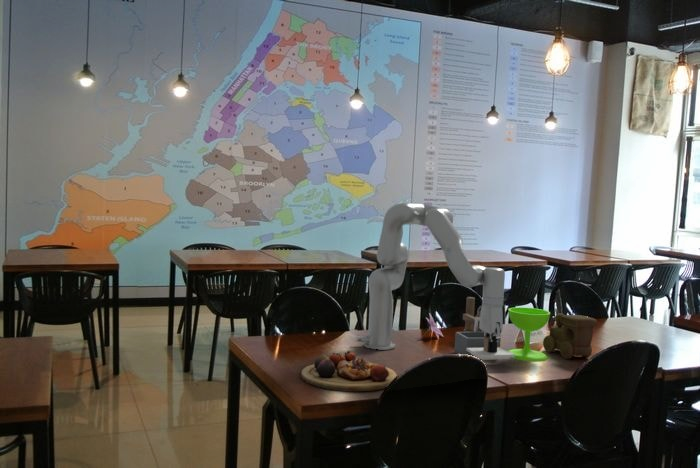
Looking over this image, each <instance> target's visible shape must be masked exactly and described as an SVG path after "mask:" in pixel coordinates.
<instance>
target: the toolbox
mask: <svg viewBox="0 0 700 468" xmlns="http://www.w3.org/2000/svg"><path fill="white" fill-rule="evenodd" d="M474 317H475V316H474ZM478 320H480V317H475V325H473V329H474V332H463V331H455V334H454V335H455V336H454V353H456V354H457V353H460V354H468V355H472V354H471V353H470V352H468V351H466V348H484V333H483V331H482V332H478ZM493 336H495V335H493ZM497 347H501V337H500V338H499V339H498V346H497ZM472 356H474V355H472Z"/></svg>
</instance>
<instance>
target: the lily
mask: <svg viewBox="0 0 700 468" xmlns="http://www.w3.org/2000/svg"><path fill="white" fill-rule="evenodd" d="M428 314H429V318H428V317H425V319H426V320H427V322H428V323H429V328H428V330H427V331H425V332H424V334H423V336H426V334H427V333H428V332H429V331H431V332H434V333H435V335H436V337H437V339H438V340H439V339H440V338H439V337H440V336H441V337H444V335H443V333H442V331H441V330H440V329H439V327H438V324H437V323H436V322H435V319H434V318H433V316H432V315H431V313H430V312H429V313H428ZM439 335H440V336H439Z"/></svg>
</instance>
